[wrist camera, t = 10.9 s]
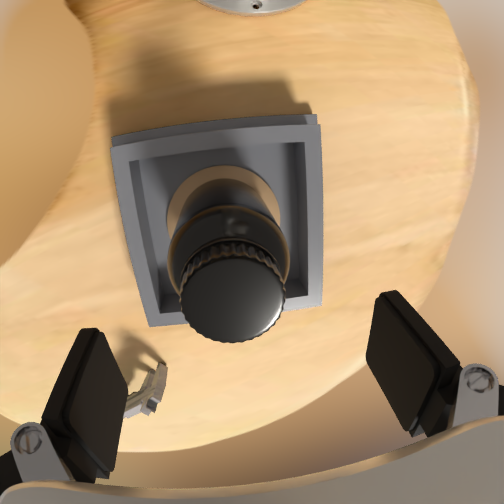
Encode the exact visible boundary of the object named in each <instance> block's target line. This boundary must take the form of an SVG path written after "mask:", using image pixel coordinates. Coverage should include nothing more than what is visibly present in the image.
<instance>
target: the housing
mask: <svg viewBox="0 0 504 504" xmlns="http://www.w3.org/2000/svg"><path fill="white" fill-rule="evenodd" d="M111 138H112V146H113V147H111V148H110V150H111V157H112V164H113V171H114V177H115V183H116V189H117V195H118V200H119V206H120V211H121V216H122V221H123V226H124V231H125V235H126V240H127V245H128V249H129V253H130V257H131V262H132V266H133V270H134V274H135V278H136V282H137V285H138V289H139V293H140V297H141V300H142V304H143V307H144V311H145V314H146V318H147V321H148V324H149V327H156V326H167V325H178V324H188V323H189V322H187V321H186V320H185V317H184V314H183V313H182V312H181V305H180V302H179V299H180V297H179V295H178V294H177V293H176V291H175V289H174V288H173V286H172V284H171V281H170V278H169V274H168V269H167V256H168V250H169V245H170V242H171V239H172V236H173V233H174V230H175V227H176V224H177V221H178V218H179V215H180V212H181V210H182V207H183V205H184V203H185V201H186V199H187V198H188V196H189V195H190V194H191V193H192V192H193V191H194V190H195V189H196V188H197V187H199V186H200V185H202V184H204V183H206V182H208V181H211V180H214V179H220V178H229V179H235V180H239V181H241V182H244V183H246V184H247V185H249V186H251V187H252V188H253V189H254V190H255V191H256V192H257V193H258V194H259V195H260V196H261V198H262V199H263V201H264V202H265V204H266V205H267V207H268V209H269V210H270V212H271V214H272V215H273V217H274V219H275V221H276V222H277V224H278V226H279V227H280V229H281V231H282V233H283V235H284V237H285V239H286V242H287V244H288V248H289V253H290V268H289V273H288V277H287V280H286V282H285V284H284V287H285V290H286V293H285V299H286V301H285V303H284V305H283V306H284V310H283V311H282V312H284V311H291V310H298V309H304V308H310V307H316V306H322V286H323V175H322V148H321V128H320V124H317V114H305V115H276V116H258V117H245V118H233V119H222V120H213V121H204V122H196V123H189V124H181V125H175V126H168V127H162V128H156V129H150V130H144V131H139V132H134V133H128V134H123V135H119V136H114V137H111Z"/></svg>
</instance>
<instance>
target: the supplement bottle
mask: <svg viewBox="0 0 504 504" xmlns="http://www.w3.org/2000/svg"><path fill="white" fill-rule="evenodd" d="M289 268H290V253H289V248H288V244H287V242H286V239H285V237H284V235H283V233H282V231H281V229H280V227H279V226H278V224H277V222H276V221H275V219H274V217H273V215H272V214H271V212H270V210H269V209H268V207H267V205H266V204H265V202H264V201H263V199H262V198H261V196H260V195H259V194H258V193H257V192H256V191H255V190H254V189H253V188H252V187H251V186H249V185H247V184H246V183H244V182H241V181H239V180H235V179H229V178H220V179H214V180H211V181H208V182H206V183H204V184H202V185H200V186H199V187H197V188H196V189H195V190H194V191H193V192H192V193H191V194H190V195H189V196H188V198H187V199H186V201H185V203H184V205H183V207H182V210H181V212H180V215H179V218H178V221H177V224H176V227H175V230H174V233H173V236H172V239H171V242H170V245H169V250H168V256H167V269H168V274H169V278H170V281H171V284H172V286H173V288H174V289H175V291H176V293H177V294H178V295H179V297H180V299H179V302H180V305H181V312H182V313H183V314H184V317H185V320H186V321H187V322H189V324H190V327H192V328H194V329H195V330H196V332H197V333H199V334H202V335H203V336H204V337H205V338H210V339H212V340H213V341H220V342H222V343H227V342H229V343H236V342H244V341H246V340H252V339H254V338H255V337H259V336H261V335H262V334H263V333H264V332H267V331H268V330H269V329H270V327H272V326H274V325H275V323H276V321H277V320H278V319H279V318H280V313H281V312H282V311H283V310H284V306H283V305H284V303H285V301H286V299H285V293H286V290H285V287H284V284H285V282H286V280H287V277H288V273H289Z"/></svg>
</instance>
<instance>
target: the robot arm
mask: <svg viewBox="0 0 504 504" xmlns="http://www.w3.org/2000/svg"><path fill="white" fill-rule="evenodd" d="M197 1H198V2H200V3H201V4H203V5H205V6H208V7H210V8H212V9H214V10H217V11H221V12H224V13H228V14H233V15H240V16H267V15H275V14H278V13H282V12H286V11H289V10H291V9H293V8H295V7H298V6H300V5H301V4H302V3H304V2H305V1H307V0H197ZM253 6H257V7H258V9H254V8H253ZM366 361H367V364H368V366H369V367H370V369H371V371H372V373H373V375H374V376H375V378H376V380H377V382H378V383H379V385H380V387H381V389H382V391H383V392H384V394H385V396H386V398H387V400H388V401H389V403H390V405H391V407H392V409H393V411H394V412H395V414H396V416H397V418H398V420H399V422H400V424H401V426H402V427H403V429H404V430H405V431H409V433H410V434H411V437H414V436H417V435H420V434H422V433H424V432H425V434H426V436H427V437H428V438H426V439H424V440H421V441H419V442H416V443H413V444H410V445H408V446H405V447H402V448H399V449H397V450H394V451H391V452H388V453H386V454H382V455H380V456H376V457H373V458H370V459H367V460H364V461H361V462H357V463H354V464H350V465H347V466H343V467H339V468H335V469H331V470H327V471H323V472H318V473H314V474H310V475H305V476H300V477H294V478H289V479H283V480H277V481H270V482H264V483H256V484H248V485H239V486H227V487H212V488H189V489H162V488H161V489H160V488H138V487H123V486H110V485H101V484H94V483H95V480H96V478H104V479H109V475H110V472H112V471H113V470H114V468H115V461H116V455H117V449H118V444H119V438H120V433H121V427H122V422H123V417H124V412H125V407H126V402H127V397H128V387H127V384H126V382H125V380H124V378H123V376H122V374H121V371H120V369H119V367H118V365H117V363H116V360H115V358H114V356H113V354H112V351H111V349H110V347H109V344H108V342H107V340H106V337H105V335H104V333H103V332H100V331H99V330H98V329H97V328H83V329H81V330H80V331H79V333H78V335H77V337H76V339H75V342H74V344H73V346H72V348H71V350H70V352H69V354H68V356H67V358H66V361H65V363H64V365H63V367H62V369H61V372H60V374H59V376H58V378H57V381H56V383H55V385H54V388H53V390H52V392H51V395H50V397H49V400H48V402H47V404H46V407H45V410H44V412H43V415H42V417H41V418H42V420H41V423H40V424H39V423H35V422H28V423H25V424H22V425H21V426H19V427H18V428H17V429H16V430H15V431H14V433H13V435H12V437H11V441H10V445H11V450H10V451H9V452H7V453H5V454H4V455H2V456H0V504H504V386H502V385H499V383H498V378H497V376H496V374H495V373H494V372H493V370H492V369H490V368H489V367H487V366H485V365H482V364H470V365H467V366H466V367H464V368H462V367H461V366H460V361H459V360H458V359H457V358H456V357H455V355H454V354H453V353H452V352H451V351H450V349H449V348H448V347H447V346H446V345H445V343H444V342H443V341H442V340H441V339H440V338H439V337H438V335H437V334H436V333H435V332H434V331H433V330H432V329H431V327H430V326H429V325H428V324H427V323H426V322H425V320H424V319H423V318H422V317H421V316H420V315H419V314H418V313H417V311H416V310H415V309H414V308H413V307H412V306H411V305H410V304H409V303H408V302H407V300H406V299H405V298H404V297H403V296H402V295H401V294H400V293H399V292H398V291H397V290H393V291H388V292H382V293H381V294H380V295H379V297H378V298H376V300H375V305H374V312H373V318H372V324H371V330H370V335H369V341H368V346H367V351H366Z"/></svg>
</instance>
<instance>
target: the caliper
mask: <svg viewBox="0 0 504 504" xmlns="http://www.w3.org/2000/svg"><path fill="white" fill-rule="evenodd" d="M167 370H168V367H166V366H165V365H163V364H162V363H160V362H159V363H158V365H157V369H156V371H154V370H153V369H151V370H149V372H148V374H147V376H146V378H145V380H144V383H143V385H142V387H141V389H140V391H138V392H133V393H132V394H130V395H128V397H127V402H126V407H125V412H124V417H123V418H125V417H127V418H130V417H132V416H134V415H136V414H138V413H141V412H142V413H144V414H146V415H148V416H149V414H150V412H151V411H152V412H154V413H155V411H156V407H157V404H158V403H159V402H161V399H162V396H163V392H164V389H165V386H166V378H167Z"/></svg>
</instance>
